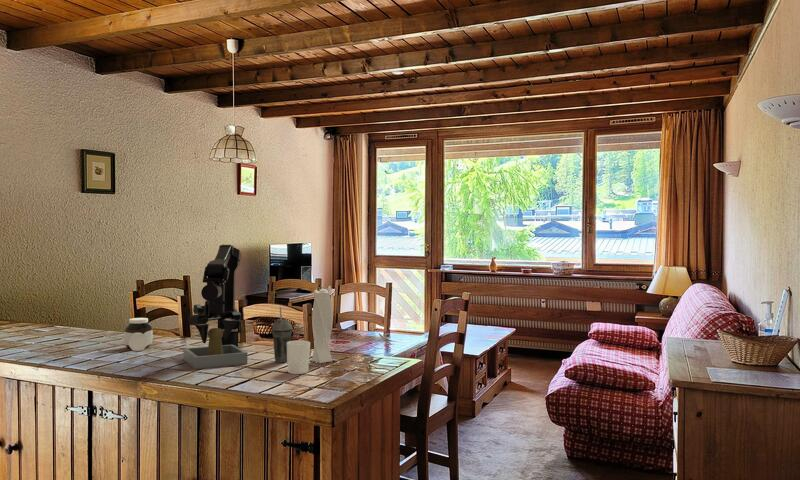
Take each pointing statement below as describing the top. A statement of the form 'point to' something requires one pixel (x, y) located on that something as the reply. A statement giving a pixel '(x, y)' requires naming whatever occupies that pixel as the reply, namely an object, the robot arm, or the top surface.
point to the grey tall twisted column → (322, 325)
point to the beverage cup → (281, 338)
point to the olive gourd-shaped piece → (215, 341)
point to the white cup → (298, 356)
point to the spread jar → (138, 334)
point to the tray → (215, 357)
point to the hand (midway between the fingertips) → (215, 341)
